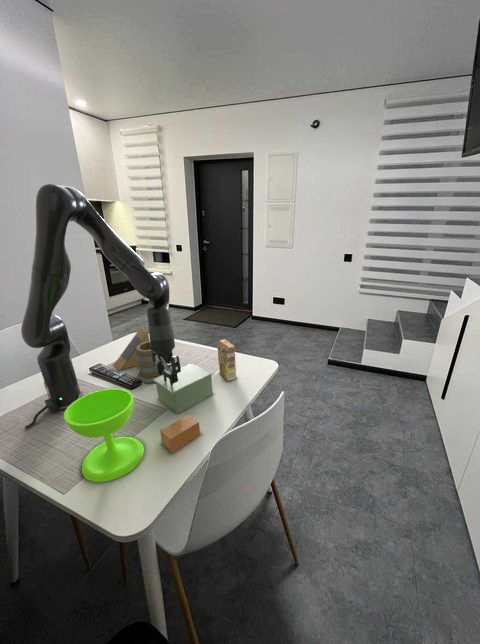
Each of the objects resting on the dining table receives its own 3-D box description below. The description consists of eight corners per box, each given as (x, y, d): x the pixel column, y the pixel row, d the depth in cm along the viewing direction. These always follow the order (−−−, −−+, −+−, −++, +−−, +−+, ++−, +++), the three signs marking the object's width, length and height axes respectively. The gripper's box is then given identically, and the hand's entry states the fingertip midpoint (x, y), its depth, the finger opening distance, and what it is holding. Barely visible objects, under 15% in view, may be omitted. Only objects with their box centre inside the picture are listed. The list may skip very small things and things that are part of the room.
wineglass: (115, 432, 90) (103, 383, 84) (156, 446, 85) (146, 395, 78) (67, 471, 77) (48, 416, 70) (112, 490, 71) (96, 432, 65)
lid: (172, 394, 95) (170, 381, 94) (153, 381, 103) (151, 369, 101) (211, 375, 107) (210, 363, 105) (191, 364, 115) (190, 353, 113)
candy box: (236, 378, 121) (235, 345, 115) (227, 381, 119) (226, 348, 113) (227, 370, 128) (225, 338, 122) (218, 372, 125) (216, 340, 120)
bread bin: (177, 413, 99) (174, 393, 96) (158, 399, 107) (155, 380, 104) (212, 394, 110) (211, 375, 107) (193, 382, 118) (191, 365, 115)
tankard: (151, 385, 116) (146, 352, 110) (132, 377, 122) (125, 345, 116) (187, 365, 131) (184, 335, 126) (168, 359, 138) (164, 330, 132)
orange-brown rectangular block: (172, 452, 83) (170, 439, 81) (162, 443, 86) (159, 430, 84) (200, 434, 89) (198, 421, 88) (190, 426, 93) (188, 414, 91)
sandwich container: (113, 364, 133) (106, 334, 128) (146, 354, 143) (141, 326, 137) (119, 370, 127) (112, 339, 122) (152, 360, 137) (148, 331, 131)
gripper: (140, 333, 96) (147, 375, 102) (162, 344, 87) (169, 390, 93) (160, 327, 101) (166, 367, 107) (183, 337, 92) (189, 380, 98)
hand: (168, 378), depth 100 cm, fingers open, 8 cm apart
